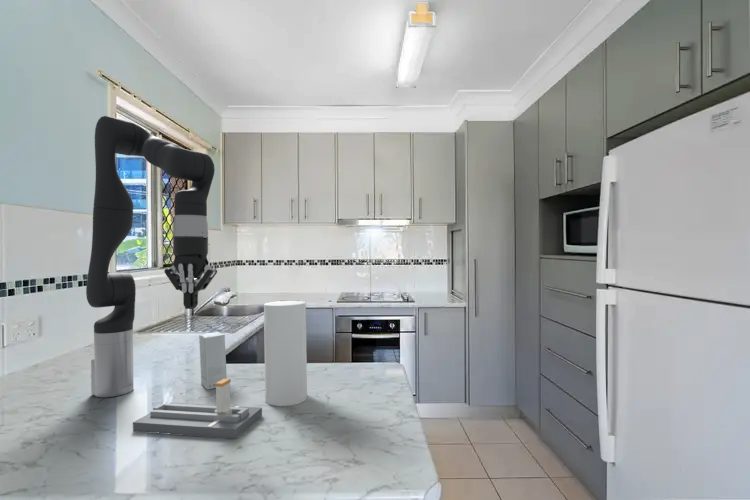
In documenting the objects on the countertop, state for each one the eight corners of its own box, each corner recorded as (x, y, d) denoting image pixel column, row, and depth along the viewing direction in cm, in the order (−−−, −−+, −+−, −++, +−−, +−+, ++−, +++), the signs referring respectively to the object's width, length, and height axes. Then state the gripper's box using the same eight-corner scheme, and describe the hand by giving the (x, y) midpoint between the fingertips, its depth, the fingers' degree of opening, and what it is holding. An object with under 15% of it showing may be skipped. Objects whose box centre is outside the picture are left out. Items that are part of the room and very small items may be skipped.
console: (132, 431, 89) (132, 415, 89) (170, 410, 101) (170, 396, 101) (235, 438, 85) (235, 422, 85) (262, 416, 97) (261, 401, 97)
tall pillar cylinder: (256, 403, 105) (255, 304, 106) (280, 390, 115) (279, 300, 115) (292, 408, 101) (291, 306, 102) (314, 394, 111) (313, 301, 112)
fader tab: (212, 418, 91) (212, 383, 91) (221, 412, 94) (221, 378, 94) (225, 418, 90) (225, 383, 90) (233, 412, 93) (233, 379, 93)
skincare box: (227, 386, 119) (226, 334, 119) (205, 390, 116) (204, 337, 116) (220, 379, 126) (219, 330, 126) (199, 383, 123) (198, 333, 123)
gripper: (154, 234, 96) (154, 310, 96) (206, 234, 93) (206, 311, 93) (176, 235, 103) (176, 305, 103) (225, 235, 100) (224, 307, 100)
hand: (190, 308), depth 98 cm, fingers closed
